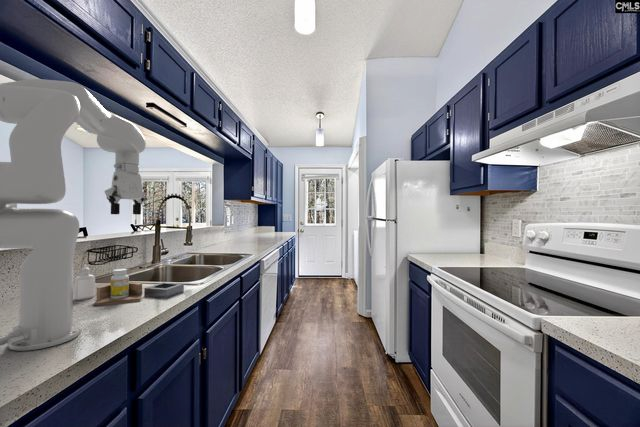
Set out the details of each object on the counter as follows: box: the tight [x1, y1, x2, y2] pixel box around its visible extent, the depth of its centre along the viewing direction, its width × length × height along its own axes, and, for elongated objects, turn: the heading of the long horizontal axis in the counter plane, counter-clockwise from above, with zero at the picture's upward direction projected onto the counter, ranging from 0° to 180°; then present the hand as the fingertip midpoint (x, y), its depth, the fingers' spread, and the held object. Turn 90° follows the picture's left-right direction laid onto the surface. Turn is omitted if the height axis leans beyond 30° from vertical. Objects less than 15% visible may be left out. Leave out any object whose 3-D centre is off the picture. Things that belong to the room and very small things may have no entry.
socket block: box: [143, 282, 185, 299], centre depth 112 cm, size 10×10×3 cm
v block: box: [93, 281, 143, 307], centre depth 104 cm, size 12×13×5 cm
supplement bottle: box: [110, 268, 130, 299], centre depth 104 cm, size 5×5×10 cm
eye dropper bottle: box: [74, 264, 96, 301], centre depth 105 cm, size 4×6×12 cm
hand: (126, 214), depth 111 cm, fingers open, 9 cm apart
